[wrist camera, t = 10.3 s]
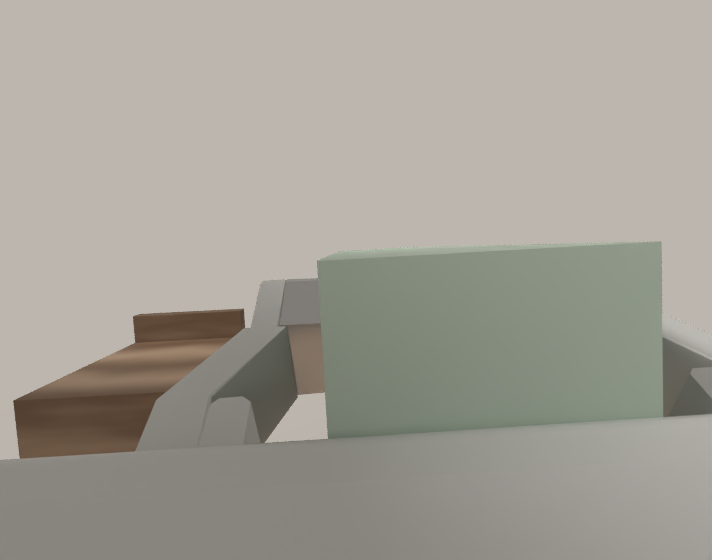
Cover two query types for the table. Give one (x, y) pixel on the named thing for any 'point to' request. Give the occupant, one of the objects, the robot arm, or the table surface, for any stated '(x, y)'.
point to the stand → (120, 386)
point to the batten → (490, 336)
